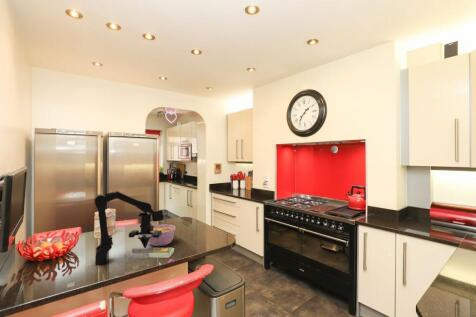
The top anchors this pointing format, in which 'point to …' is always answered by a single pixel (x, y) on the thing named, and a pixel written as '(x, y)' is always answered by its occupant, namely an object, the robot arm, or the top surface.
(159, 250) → the oak chip
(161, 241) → the bowl of food
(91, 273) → the top surface
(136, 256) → the slot board
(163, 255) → the tray
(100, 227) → the robot arm
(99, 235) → the coffeecake box
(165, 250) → the yellow block
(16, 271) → the top surface
